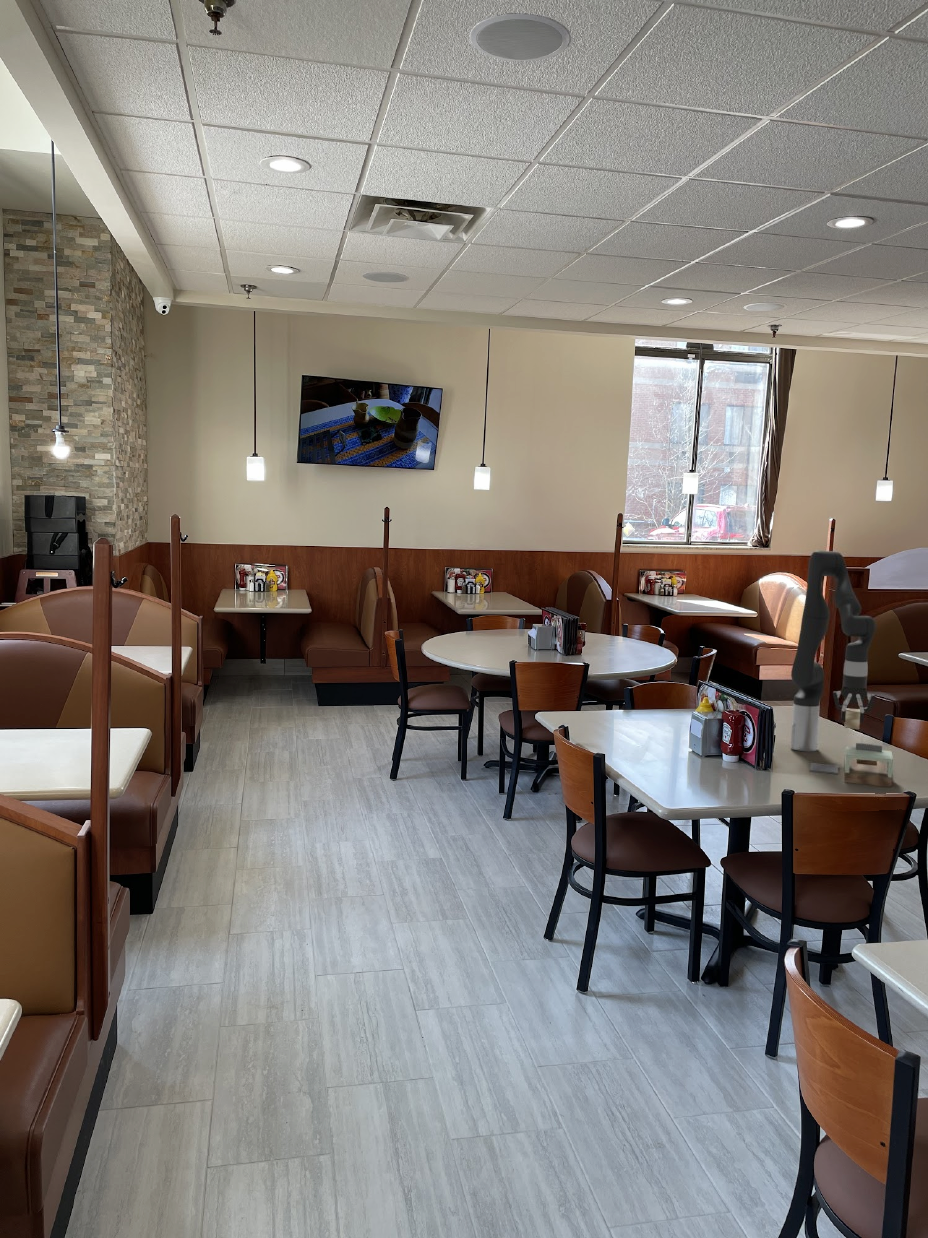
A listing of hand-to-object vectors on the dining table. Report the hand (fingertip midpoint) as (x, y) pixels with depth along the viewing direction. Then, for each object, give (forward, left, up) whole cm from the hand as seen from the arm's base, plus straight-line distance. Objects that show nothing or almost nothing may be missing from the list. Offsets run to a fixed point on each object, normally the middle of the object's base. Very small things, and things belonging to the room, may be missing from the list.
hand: (851, 722), depth 310 cm
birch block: (0, 0, -2) cm, 2 cm away
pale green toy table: (+6, -11, -14) cm, 18 cm away
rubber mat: (-8, -3, -17) cm, 19 cm away
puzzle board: (+6, -3, -17) cm, 18 cm away
